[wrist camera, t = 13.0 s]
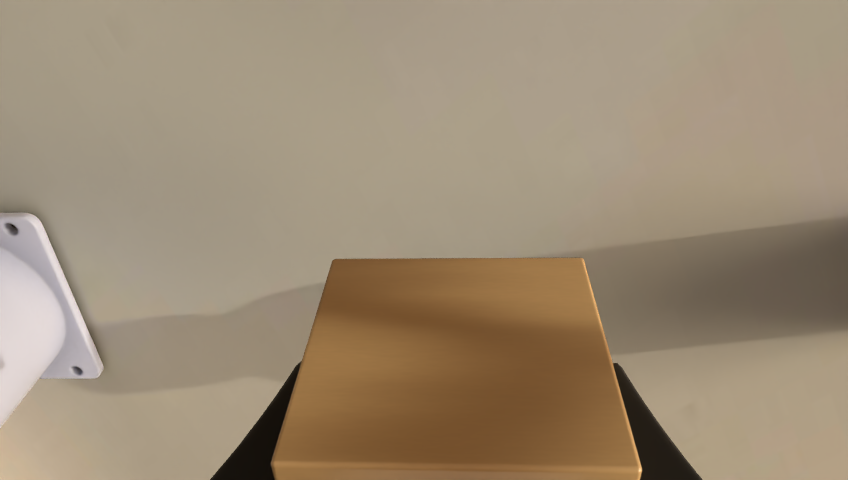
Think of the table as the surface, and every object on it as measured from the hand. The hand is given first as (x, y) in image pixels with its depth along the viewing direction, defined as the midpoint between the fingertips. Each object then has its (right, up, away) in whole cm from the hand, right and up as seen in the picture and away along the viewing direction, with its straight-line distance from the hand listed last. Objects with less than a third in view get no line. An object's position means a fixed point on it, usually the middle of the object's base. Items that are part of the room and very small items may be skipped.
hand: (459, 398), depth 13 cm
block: (0, +1, +1) cm, 1 cm away
